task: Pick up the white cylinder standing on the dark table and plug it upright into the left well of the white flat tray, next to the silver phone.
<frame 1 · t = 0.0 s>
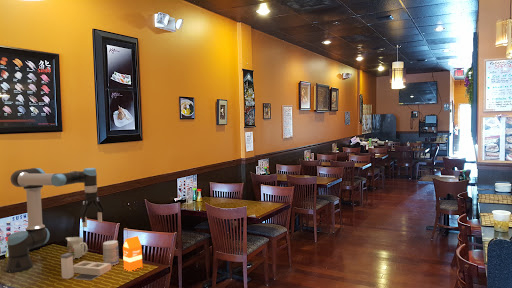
hand: (92, 224, 249), 28 cm above the table, fingers open, 13 cm apart
phone: (86, 278, 233), on the table
orange juice: (133, 268, 245), on the table
white cylinder: (67, 277, 234), on the table
pitcher: (77, 258, 272), on the table
supplement tub: (111, 264, 255), on the table
white flat tray: (91, 271, 243), on the table
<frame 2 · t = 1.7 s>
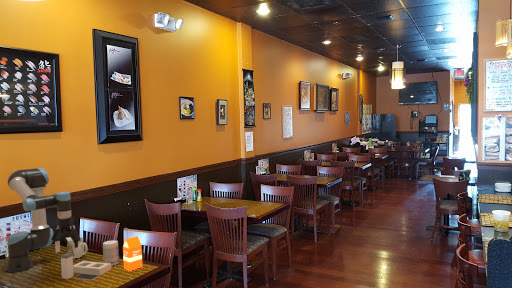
hand: (66, 252, 233), 15 cm above the table, fingers open, 13 cm apart
nothing on the table moved.
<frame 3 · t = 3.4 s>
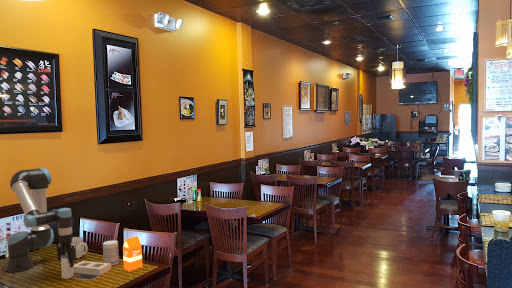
hand: (67, 271, 234), 3 cm above the table, fingers closed on white cylinder, 4 cm apart
white cylinder: (67, 277, 234), on the table, touching gripper
everything else where it was.
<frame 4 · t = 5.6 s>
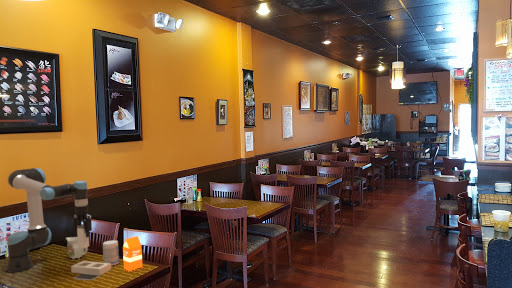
hand: (83, 241, 244), 18 cm above the table, fingers closed on white cylinder, 4 cm apart
white cylinder: (83, 247, 244), point 15 cm above the table, touching gripper
everything else where it was.
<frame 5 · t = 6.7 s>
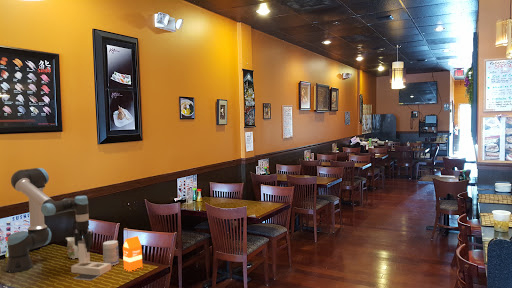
hand: (84, 256, 245), 9 cm above the table, fingers closed on white cylinder, 4 cm apart
white cylinder: (84, 261, 245), point 6 cm above the table, touching gripper
everything else where it was.
when the fingers open (5 cm above the table, at t = 7.7 s): white cylinder stays where it is, resting on white flat tray.
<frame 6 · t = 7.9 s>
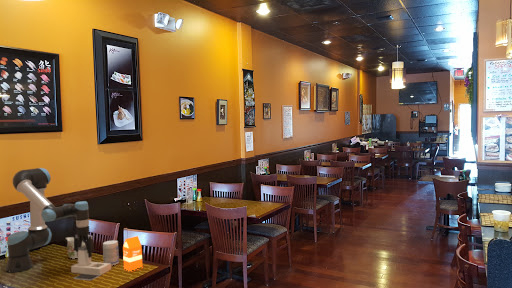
hand: (84, 261, 245), 5 cm above the table, fingers open, 7 cm apart
white cylinder: (84, 268, 245), point 1 cm above the table, touching white flat tray
everything else where it was.
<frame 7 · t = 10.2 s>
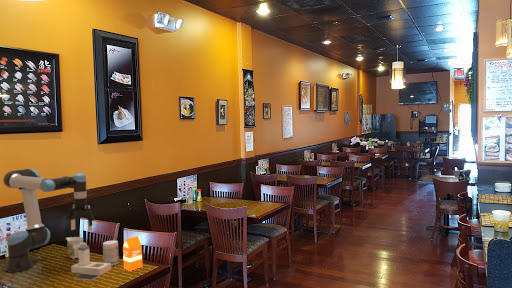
hand: (81, 230, 249), 25 cm above the table, fingers open, 13 cm apart
nothing on the table moved.
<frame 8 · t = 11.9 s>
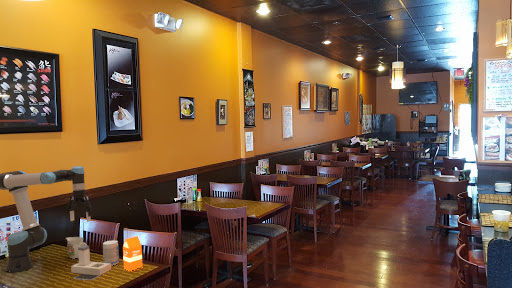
hand: (80, 221, 258), 29 cm above the table, fingers open, 13 cm apart
nothing on the table moved.
at the end: white cylinder 0.0 cm from the target spot on the white flat tray, point 1.2 cm above the white flat tray's base; white cylinder tilted 0°; the gripper is holding nothing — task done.
